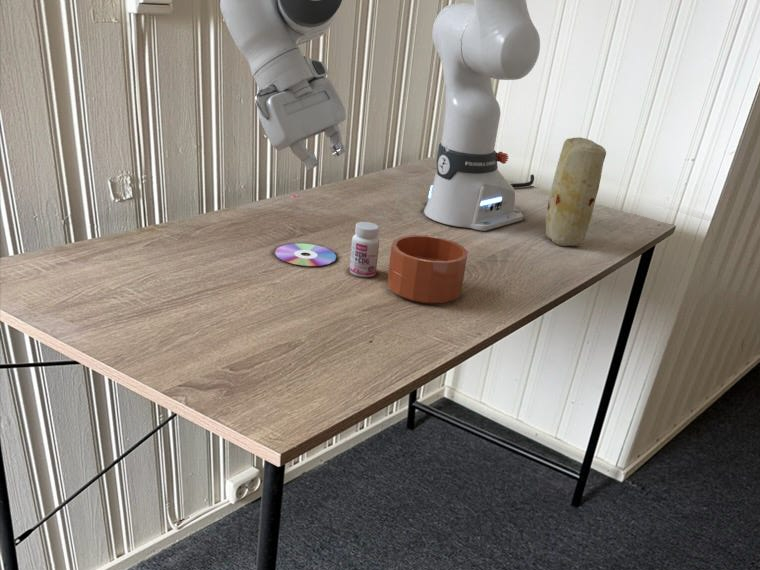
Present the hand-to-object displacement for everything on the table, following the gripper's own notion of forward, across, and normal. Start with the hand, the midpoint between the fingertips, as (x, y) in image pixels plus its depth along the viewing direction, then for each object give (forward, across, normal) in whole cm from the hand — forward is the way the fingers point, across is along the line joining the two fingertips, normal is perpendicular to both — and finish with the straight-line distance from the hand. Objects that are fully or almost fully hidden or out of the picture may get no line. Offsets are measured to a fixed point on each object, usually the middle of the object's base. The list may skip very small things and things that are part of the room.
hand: (327, 161), depth 141 cm
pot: (+26, -2, -7) cm, 27 cm away
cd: (+12, -2, +12) cm, 17 cm away
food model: (+36, +41, -15) cm, 57 cm away
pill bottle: (+19, -2, +3) cm, 19 cm away
